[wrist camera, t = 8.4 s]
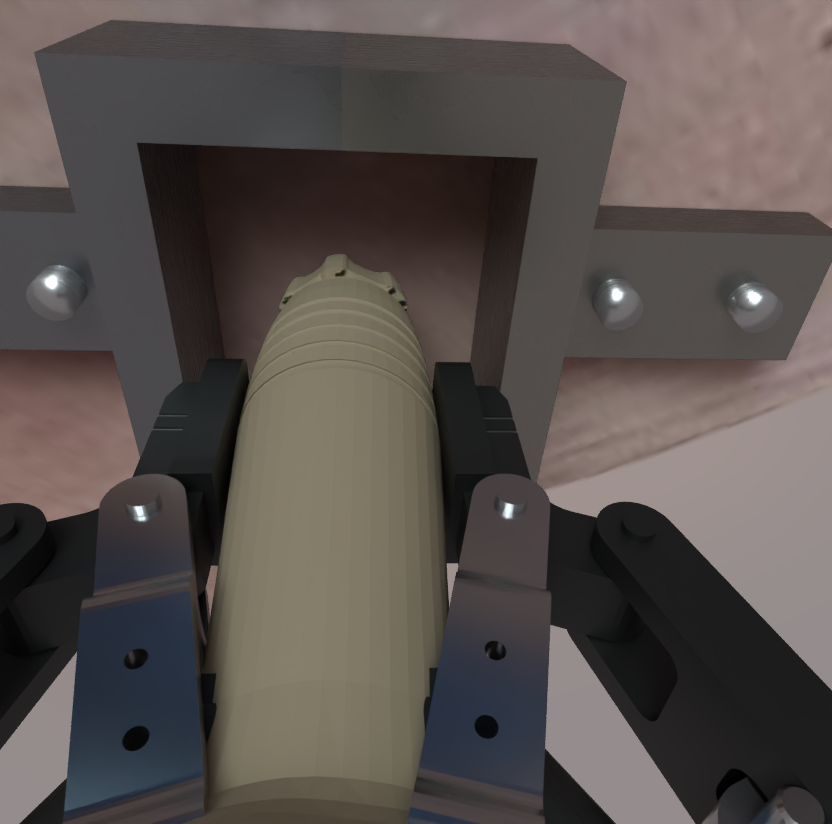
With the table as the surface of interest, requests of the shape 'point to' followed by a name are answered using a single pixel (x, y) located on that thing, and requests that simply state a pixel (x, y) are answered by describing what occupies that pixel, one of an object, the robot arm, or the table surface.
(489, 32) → the table surface
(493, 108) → the bracket
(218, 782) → the handle
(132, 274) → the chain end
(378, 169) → the table surface
